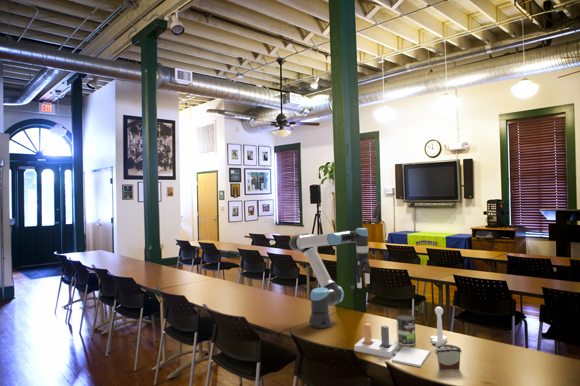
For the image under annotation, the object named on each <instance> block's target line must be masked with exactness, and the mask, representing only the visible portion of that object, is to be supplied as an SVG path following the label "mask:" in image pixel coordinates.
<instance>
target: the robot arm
mask: <svg viewBox="0 0 580 386" xmlns="http://www.w3.org/2000/svg"><path fill="white" fill-rule="evenodd" d="M368 232H369V231H368V228H365V227H357V228H356V229H355V230H342V231H337V232H331V233H324V234H323V233H322V234H317V235H316V234H313V233H309V232H308V233H302V234H301V233H300V234H295V235H293V236H291V238H290V239H289V241H288V243H289V247H290V249H291V250H293V251H295V252H301V254H302V255H303V256H305V257H306V258H307V260H308V262H309V265H310V267H311V268H312V270H313V273H314V275H315V277H316V279H317V281H318V283H319V285H320V287H315V288H313V289H312V290H311V291H310V309H311V310H310V317H309V320H308V326H309V325H310V326H311V328H313V327H314V329H327V328H328V329H329V328H331V327H332V326H333V320H332V318H331V316H330V307H331V306H333V305H337V304H339V303H341V302H342V301H343V300H344V297H345V296H344V295H345V292H344V290H343V288H342V287H341V286H339V285H337V283H336V281H334V280H333V279H332V278H331V276H330V274H329V272H328V270H327V268H326V266H325V264H324V262H323V260H322V258H321V256H320V254H319V252H318V247H326V246H337V245H342V244H347V243H354V244H356V245H355V246H356V249H355V250H356V259H358V261H356V270H355V276H354V277H355V278H356V288H358V289H362V287H363V286H362V285H363V283H362V273H363V270H364V271H365V273H364V277H365V278H364V279H365V280H364V281H365V284H368V285H369V284H371V282H370V281H371V280H370V279H371V278H370V277H371V276H370V274H371V273H372V270H371V265H370V262H369V254H370V253H369V233H368ZM310 326H309V327H310Z"/></svg>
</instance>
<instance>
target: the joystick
mask: <svg viewBox="0 0 580 386" xmlns="http://www.w3.org/2000/svg"><path fill="white" fill-rule="evenodd" d="M434 312H435V314H436V335H431V336H430V341H431V344H433V345H434V346H436V347H437V346H438V345H443V344H446V343H447V341H448V340H447V339H448V337H447V336H446V335H444V334H443V322H442V315H443V314H444V309H443V308H442V307H441V306H436V307H435V309H434Z"/></svg>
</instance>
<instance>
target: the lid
mask: <svg viewBox="0 0 580 386" xmlns="http://www.w3.org/2000/svg"><path fill="white" fill-rule="evenodd" d="M430 354H431V350H428V349H427V350H426V349H421V348H416V347H412V346H405V345H402V347H401V348H400V350H399V351H398V350H397V351H395V352H394V353H393V356H394V357H392V358H391V362H392V363H398V364H402V365H407V366H412V367H417V368H421V367H422V365H423V364H424V363H425V361H426V360H427V358H428V357H429V355H430Z"/></svg>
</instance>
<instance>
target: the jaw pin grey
mask: <svg viewBox="0 0 580 386" xmlns="http://www.w3.org/2000/svg"><path fill="white" fill-rule="evenodd" d="M380 337H381V338H380V340H381V342H382V347H383V348H389V342H390V330H389V326H387V325H381V326H380Z"/></svg>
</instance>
